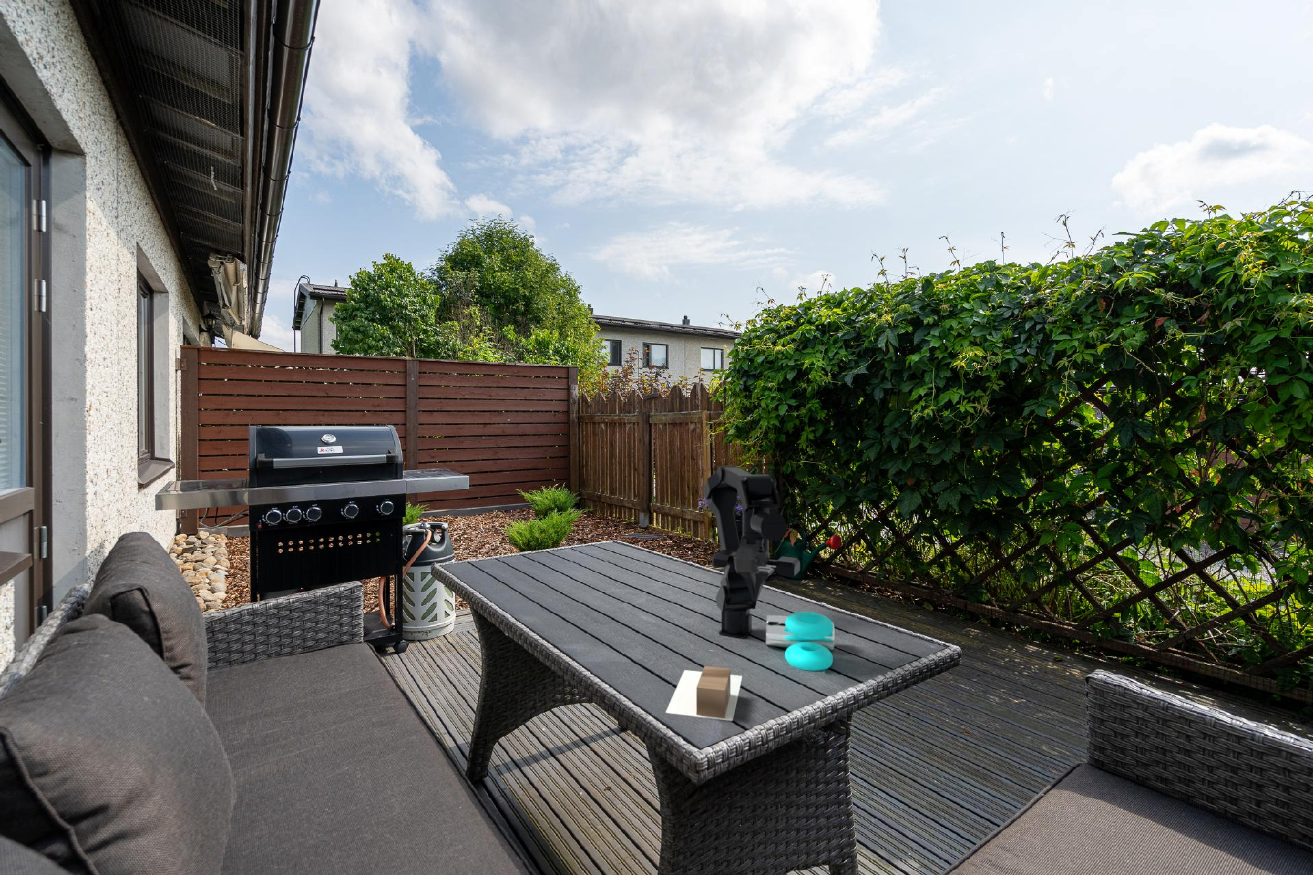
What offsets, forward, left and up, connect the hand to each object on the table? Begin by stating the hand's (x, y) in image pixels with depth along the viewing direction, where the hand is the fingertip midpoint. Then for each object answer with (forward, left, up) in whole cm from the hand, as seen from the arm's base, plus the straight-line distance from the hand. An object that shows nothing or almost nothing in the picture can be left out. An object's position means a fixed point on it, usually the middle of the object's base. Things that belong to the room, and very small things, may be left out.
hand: (755, 600), depth 135 cm
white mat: (-2, -23, -12) cm, 26 cm away
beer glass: (+15, +10, -9) cm, 21 cm away
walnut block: (0, -22, -9) cm, 24 cm away
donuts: (+12, 0, -12) cm, 17 cm away
